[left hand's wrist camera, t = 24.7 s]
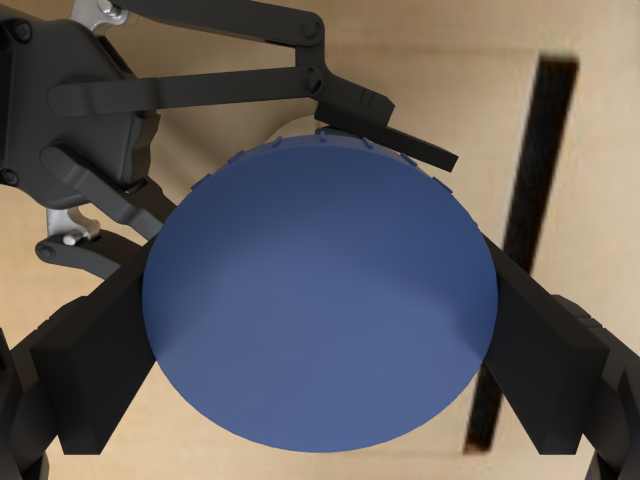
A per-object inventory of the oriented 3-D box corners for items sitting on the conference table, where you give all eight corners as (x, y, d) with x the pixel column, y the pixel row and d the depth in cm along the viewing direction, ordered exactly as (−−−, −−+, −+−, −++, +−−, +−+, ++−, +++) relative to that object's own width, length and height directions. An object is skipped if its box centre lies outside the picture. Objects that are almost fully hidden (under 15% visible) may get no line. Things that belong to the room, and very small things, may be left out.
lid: (520, 321, 13) (557, 364, 11) (284, 441, 15) (279, 495, 13) (372, 56, 10) (385, 49, 8) (102, 249, 12) (59, 281, 10)
